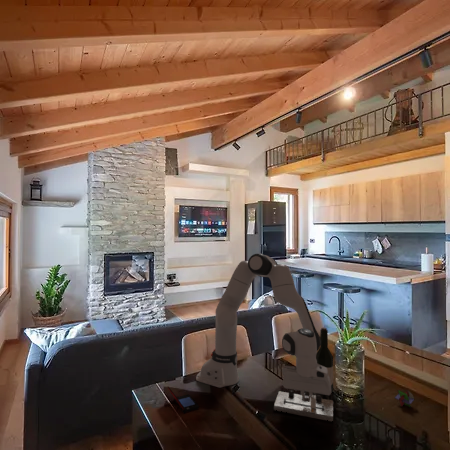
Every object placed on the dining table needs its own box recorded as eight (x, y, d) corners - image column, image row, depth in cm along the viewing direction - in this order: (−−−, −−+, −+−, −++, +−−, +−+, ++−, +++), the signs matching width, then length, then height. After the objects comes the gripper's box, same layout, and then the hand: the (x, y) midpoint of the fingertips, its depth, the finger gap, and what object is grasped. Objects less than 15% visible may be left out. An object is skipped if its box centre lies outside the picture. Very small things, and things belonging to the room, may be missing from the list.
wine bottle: (334, 395, 145) (334, 331, 146) (316, 393, 146) (315, 330, 148) (332, 387, 153) (331, 326, 154) (314, 385, 154) (314, 325, 156)
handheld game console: (200, 409, 133) (200, 392, 133) (176, 416, 127) (176, 398, 128) (189, 396, 144) (189, 380, 144) (166, 402, 138) (167, 385, 139)
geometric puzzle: (404, 407, 131) (411, 390, 133) (389, 400, 137) (396, 383, 140) (412, 414, 133) (419, 397, 136) (397, 406, 140) (404, 390, 142)
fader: (310, 407, 130) (310, 397, 130) (311, 404, 133) (311, 394, 133) (315, 408, 129) (315, 398, 130) (316, 405, 132) (315, 395, 132)
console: (274, 410, 132) (274, 400, 132) (279, 395, 144) (279, 386, 145) (333, 421, 124) (332, 411, 124) (333, 405, 136) (332, 395, 137)
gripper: (281, 367, 133) (281, 400, 133) (331, 375, 126) (331, 409, 126) (283, 362, 139) (283, 393, 139) (331, 368, 132) (331, 401, 132)
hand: (306, 401), depth 132 cm, fingers closed
